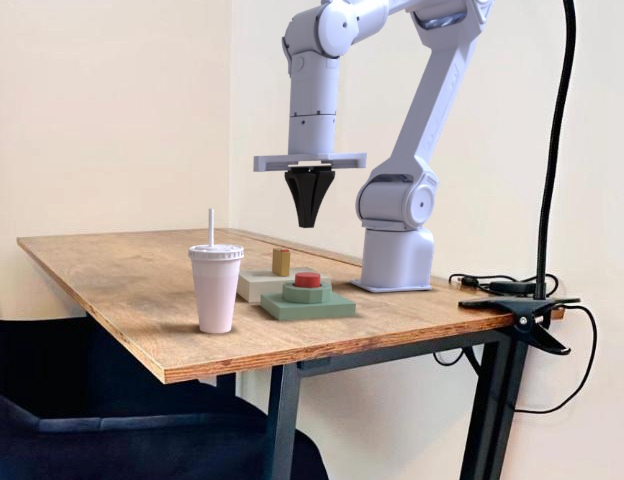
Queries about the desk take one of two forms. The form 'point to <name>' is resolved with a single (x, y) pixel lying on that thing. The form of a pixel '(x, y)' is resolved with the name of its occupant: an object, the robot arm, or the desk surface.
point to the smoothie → (215, 281)
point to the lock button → (307, 280)
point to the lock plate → (267, 282)
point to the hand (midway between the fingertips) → (306, 227)
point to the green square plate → (307, 303)
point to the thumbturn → (281, 261)
